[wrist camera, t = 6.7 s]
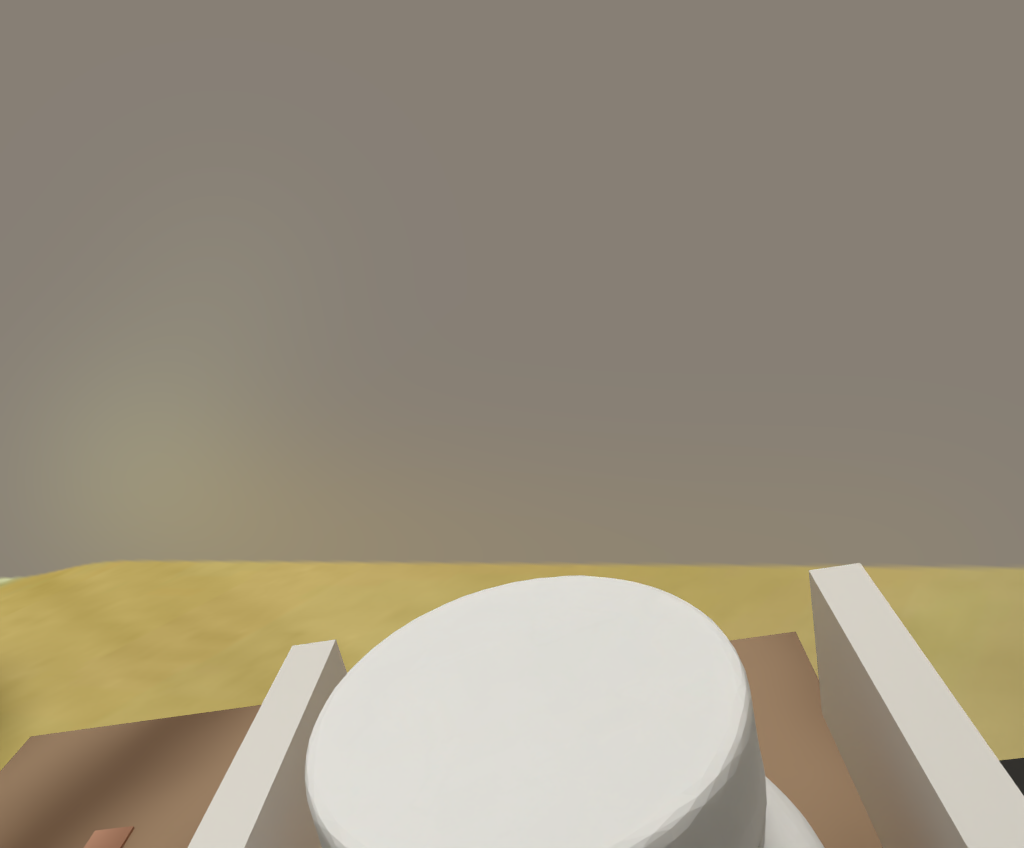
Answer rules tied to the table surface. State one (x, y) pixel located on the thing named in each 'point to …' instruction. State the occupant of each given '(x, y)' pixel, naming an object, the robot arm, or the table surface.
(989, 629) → the table surface
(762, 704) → the walnut board
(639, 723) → the supplement bottle
